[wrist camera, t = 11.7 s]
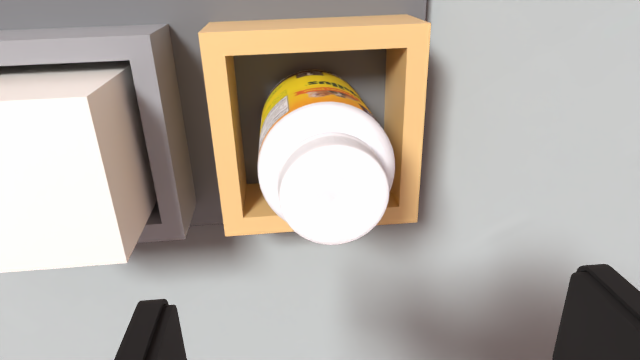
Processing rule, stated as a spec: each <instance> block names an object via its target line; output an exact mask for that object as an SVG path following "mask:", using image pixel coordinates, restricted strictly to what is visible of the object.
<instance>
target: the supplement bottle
mask: <svg viewBox="0 0 640 360" xmlns="http://www.w3.org/2000/svg"><path fill="white" fill-rule="evenodd" d="M394 174H395V157H394V152H393V148H392V145H391V143H390V140H389V138H388V136H387V135H386V133H385V131H384V130H383V128H382V127H381V125H380V124H379V122H378V121H377V120H376V119H375V117H374V116H373V115H372V113H371V112H370V110H369V109H368V107H367V106H366V105H365V103H364V102H363V101H362V99H361V98H360V97H359V95H358V94H357V92H356V91H355V90H354V89H353V88H352V86H351V85H350V84H349V83H347V82H346V81H345V80H344V79H342V78H341V77H339V76H337V75H335V74H333V73H330V72H327V71H322V70H305V71H300V72H297V73H294V74H292V75H289V76H288V77H286V78H284V79H283V80H281V81H280V82H279V83H278V84H277V85H276V86H275V87H274V88H273V89H272V91H271V92H270V94H269V95H268V97H267V99H266V101H265V104H264V107H263V110H262V115H261V127H260V140H259V153H258V179H259V184H260V188H261V191H262V193H263V196H264V198H265V200H266V201H267V203H268V205H269V206H270V207H271V209H272V210H273V211H274V212H275V213H276V214H277V215H278V216H279V217H280V218H282V219H283V220H284V221H286V222H287V223H288V225H289V226H290V227H291V228H292V229H293V230H294V231H295V232H296V233H297V234H299V235H300V236H302V237H303V238H305V239H307V240H309V241H312V242H315V243H319V244H325V245H337V244H344V243H348V242H351V241H354V240H356V239H358V238H360V237H362V236H364V235H365V234H367V233H368V232H369V231H371V230H372V229H373V228H374V227H375V226H376V225H377V223H378V222H379V221H380V220H381V218H382V216H383V214H384V213H385V211H386V208H387V205H388V200H389V192H390V189H391V187H392V183H393V179H394Z"/></svg>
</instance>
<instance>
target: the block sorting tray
mask: <svg viewBox="0 0 640 360" xmlns="http://www.w3.org/2000/svg"><path fill="white" fill-rule="evenodd" d="M426 2H427V0H0V273H3V272H16V271H29V270H42V269H55V268H68V267H80V266H93V265H106V264H119V263H127V262H128V260H129V258H130V256H131V254H132V252H133V250H134V247H135V245H136V243H145V242H158V241H172V240H185V239H186V236H187V233H188V229H189V226H196V225H209V224H223V223H224V231H225V236H239V235H252V234H266V233H279V232H293V231H294V230H293V229H292V228H291V227H290V226H289V225H288V223H287V222H286V221H284V220H283V219H282V218H280V217H279V216H278V215H277V214H276V213H275V212H274V211H273V210H272V209H271V207H270V206H269V205H268V203H267V201H266V200H265V198H264V196H263V193H262V191H261V188H260V184H259V179H258V153H259V140H260V127H261V115H262V110H263V107H264V104H265V101H266V99H267V97H268V95H269V94H270V92H271V91H272V89H273V88H274V87H275V86H276V85H277V84H278V83H279V82H280V81H281V80H283V79H284V78H286V77H288V76H289V75H292V74H294V73H297V72H300V71H305V70H322V71H327V72H330V73H333V74H335V75H337V76H339V77H341V78H342V79H344V80H345V81H346V82H347V83H349V84H350V85H351V86H352V88H353V89H354V90H355V91H356V92H357V94H358V95H359V97H360V98H361V99H362V101H363V102H364V103H365V105H366V106H367V107H368V109H369V110H370V112H371V113H372V115H373V116H374V117H375V119H376V120H377V121H378V122H379V124H380V125H381V127H382V128H383V130H384V131H385V133H386V135H387V136H388V138H389V140H390V143H391V145H392V148H393V152H394V157H395V174H394V179H393V183H392V187H391V189H390V192H389V200H388V205H387V208H386V211H385V213H384V214H383V216H382V218H381V220H380V221H379V222H378V223H377V225H387V224H400V223H414V222H417V218H418V203H419V189H420V174H421V160H422V146H423V131H424V117H425V102H426V88H427V73H428V59H429V45H430V30H431V23H429V22H427V21H425V18H426Z"/></svg>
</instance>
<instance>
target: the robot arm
mask: <svg viewBox="0 0 640 360" xmlns="http://www.w3.org/2000/svg"><path fill="white" fill-rule="evenodd" d="M114 360H187V359H186V353H185V348H184V343H183V338H182V333H181V327H180V322H179V317H178V312H177V308H176V305H168V302H167V300H166V299H158V300H145V301H140V302H139V303H138V304H137V306H136V309H135V311H134V314H133V316H132V318H131V321H130V323H129V326H128V328H127V330H126V333H125V335H124V338H123V340H122V342H121V345H120V347H119V350H118V352H117V354H116V357H115V359H114ZM553 360H640V291H638V290H637V289H636V288H635V287H634V286H633V285H632V284H630V283H629V282H628V281H627V280H626V279H625V278H623V277H622V276H621V275H620V274H619V273H618V272H617V271H615V270H614V269H613V268H612V267H610V266H609V265H606V264H598V265H586V266H581V267H579V268H578V269H577V272H576V273H573V274H572V275H571V278H570V283H569V287H568V291H567V296H566V300H565V305H564V309H563V313H562V318H561V322H560V327H559V331H558V335H557V340H556V344H555V349H554V353H553Z"/></svg>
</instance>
